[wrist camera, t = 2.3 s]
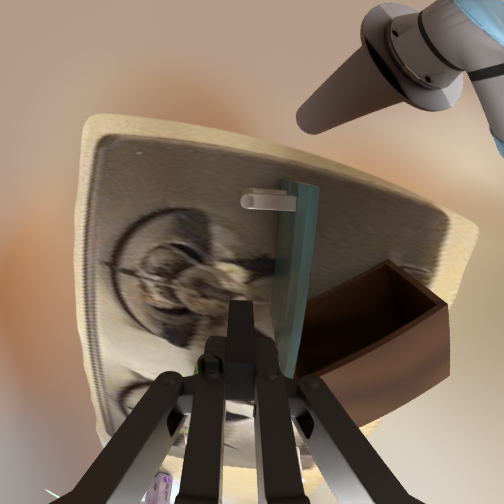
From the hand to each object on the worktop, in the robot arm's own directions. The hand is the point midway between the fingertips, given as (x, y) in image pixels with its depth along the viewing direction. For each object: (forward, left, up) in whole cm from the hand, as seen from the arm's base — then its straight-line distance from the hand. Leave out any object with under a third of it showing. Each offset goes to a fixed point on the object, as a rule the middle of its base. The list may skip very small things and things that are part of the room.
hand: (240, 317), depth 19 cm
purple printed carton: (+71, +46, -21) cm, 87 cm away
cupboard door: (-1, +3, -21) cm, 21 cm away
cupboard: (-5, +21, -21) cm, 30 cm away
